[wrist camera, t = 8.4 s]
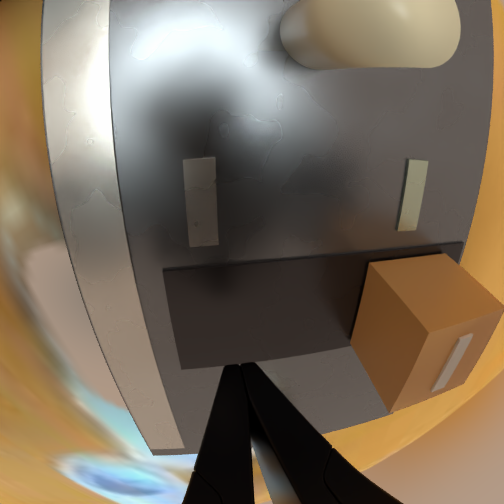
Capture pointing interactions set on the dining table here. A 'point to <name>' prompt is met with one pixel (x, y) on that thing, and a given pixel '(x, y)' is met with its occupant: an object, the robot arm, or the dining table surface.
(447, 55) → the peg
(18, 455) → the dining table surface
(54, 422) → the dining table surface
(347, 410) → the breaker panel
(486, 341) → the block
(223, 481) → the robot arm
